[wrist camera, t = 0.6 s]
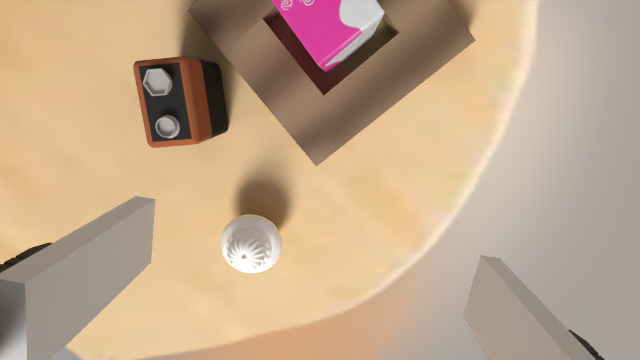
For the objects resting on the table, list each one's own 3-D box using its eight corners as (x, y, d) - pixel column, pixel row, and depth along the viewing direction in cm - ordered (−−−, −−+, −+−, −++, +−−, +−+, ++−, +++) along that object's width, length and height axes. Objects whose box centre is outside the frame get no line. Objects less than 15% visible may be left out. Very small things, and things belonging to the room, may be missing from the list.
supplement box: (336, -17, 36) (337, -64, 25) (374, 36, 37) (390, 15, 26) (288, 23, 37) (267, -3, 26) (325, 74, 38) (321, 70, 27)
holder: (199, 16, 37) (187, 10, 34) (346, -124, 34) (347, -144, 31) (317, 160, 40) (316, 166, 37) (464, 43, 37) (475, 40, 34)
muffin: (257, 267, 43) (242, 302, 36) (218, 228, 42) (196, 255, 35) (298, 233, 42) (290, 262, 35) (259, 192, 41) (244, 214, 34)
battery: (220, 62, 38) (180, 54, 28) (230, 131, 40) (195, 146, 30) (177, 66, 38) (123, 60, 29) (188, 135, 40) (141, 150, 30)
